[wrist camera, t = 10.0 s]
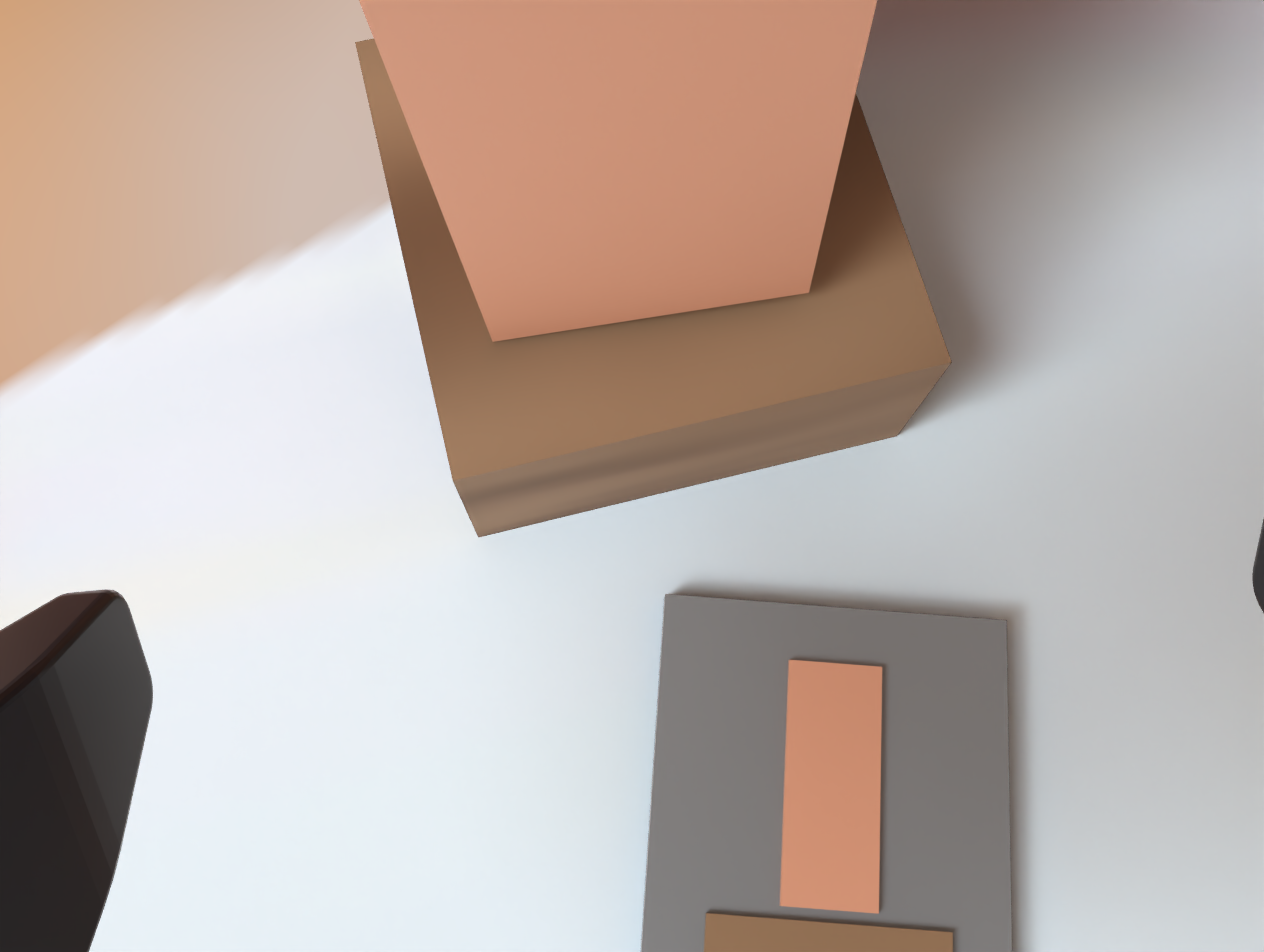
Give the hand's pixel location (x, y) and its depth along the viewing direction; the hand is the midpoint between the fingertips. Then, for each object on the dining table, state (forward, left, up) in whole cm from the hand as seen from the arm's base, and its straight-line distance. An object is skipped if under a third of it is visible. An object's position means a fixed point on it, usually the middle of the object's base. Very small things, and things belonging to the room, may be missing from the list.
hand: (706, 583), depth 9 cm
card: (-2, -3, -12) cm, 12 cm away
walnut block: (+8, +1, -12) cm, 15 cm away
